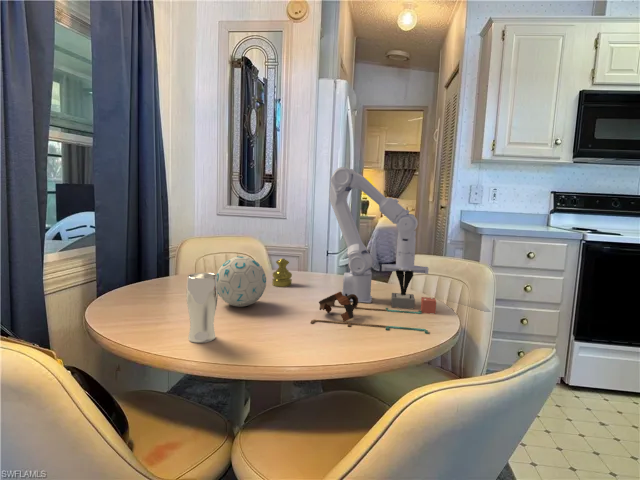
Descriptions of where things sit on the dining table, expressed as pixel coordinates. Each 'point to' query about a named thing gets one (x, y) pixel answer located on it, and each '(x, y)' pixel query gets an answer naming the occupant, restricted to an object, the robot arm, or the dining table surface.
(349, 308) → the brown bent frame piece
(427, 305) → the die
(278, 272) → the gold chess piece
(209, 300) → the beer glass
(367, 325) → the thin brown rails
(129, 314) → the dining table surface
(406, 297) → the dome
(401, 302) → the box
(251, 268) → the puzzle ball
